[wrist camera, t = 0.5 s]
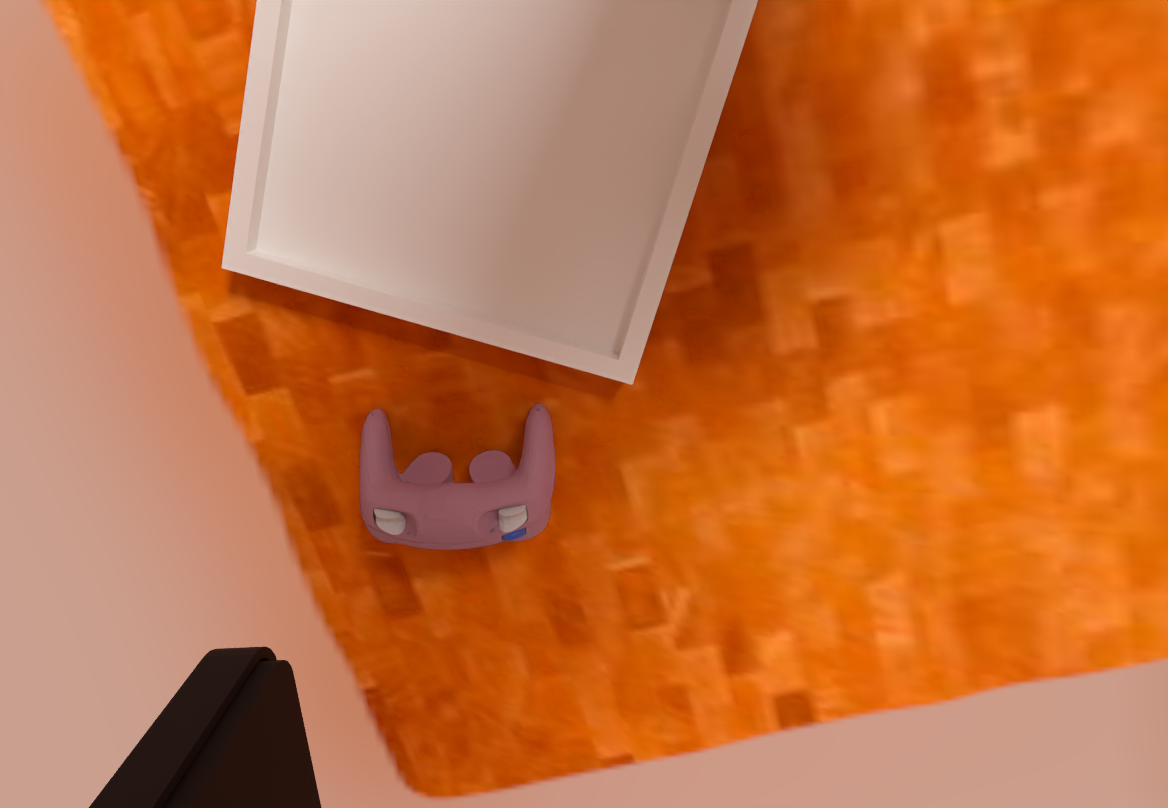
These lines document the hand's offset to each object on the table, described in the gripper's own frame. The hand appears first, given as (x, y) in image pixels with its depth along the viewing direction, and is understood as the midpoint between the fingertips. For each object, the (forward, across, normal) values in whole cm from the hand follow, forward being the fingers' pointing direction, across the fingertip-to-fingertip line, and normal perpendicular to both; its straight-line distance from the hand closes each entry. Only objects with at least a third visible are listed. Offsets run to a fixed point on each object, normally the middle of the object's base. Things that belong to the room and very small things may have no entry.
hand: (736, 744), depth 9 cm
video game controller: (+34, +9, +9) cm, 36 cm away
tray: (+33, +6, -7) cm, 34 cm away
